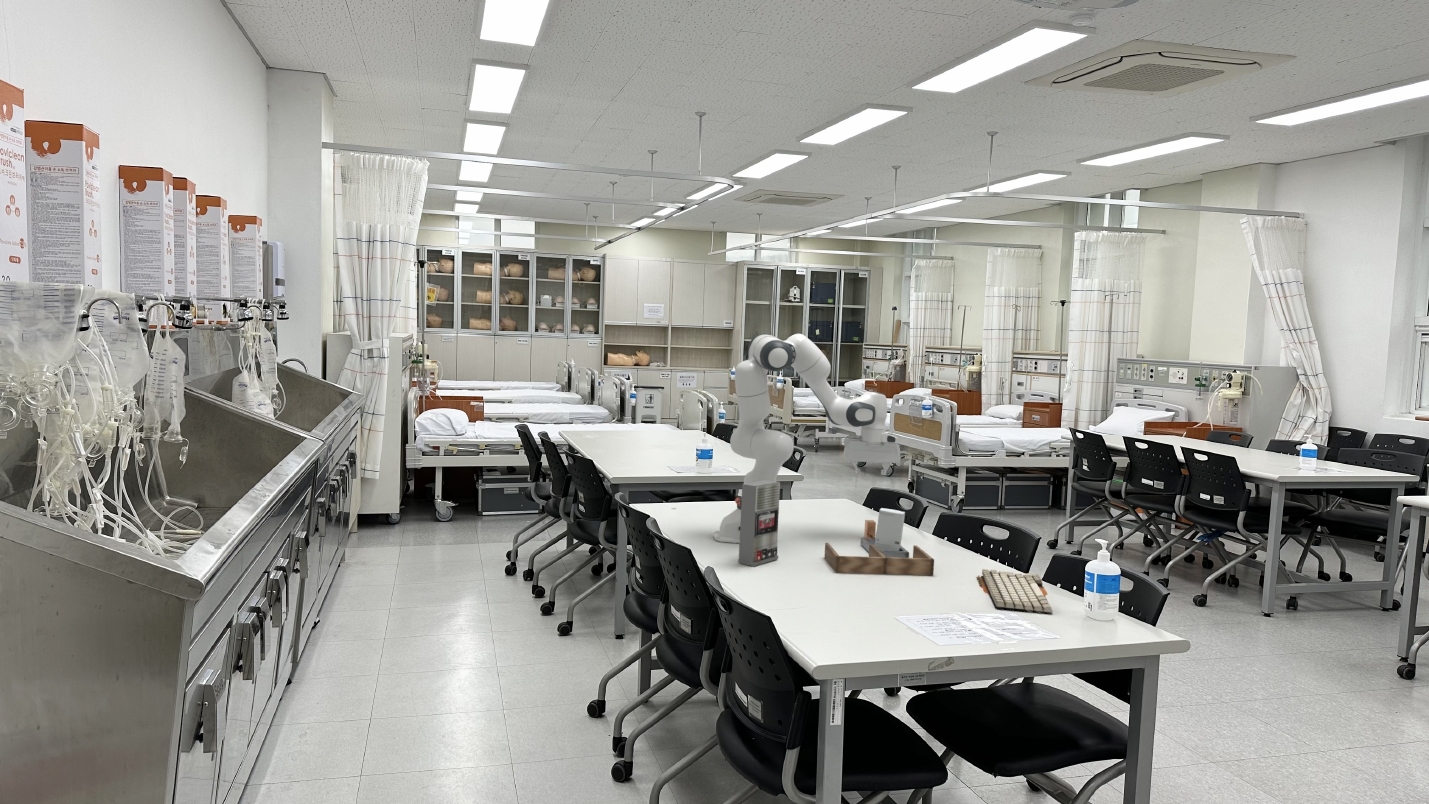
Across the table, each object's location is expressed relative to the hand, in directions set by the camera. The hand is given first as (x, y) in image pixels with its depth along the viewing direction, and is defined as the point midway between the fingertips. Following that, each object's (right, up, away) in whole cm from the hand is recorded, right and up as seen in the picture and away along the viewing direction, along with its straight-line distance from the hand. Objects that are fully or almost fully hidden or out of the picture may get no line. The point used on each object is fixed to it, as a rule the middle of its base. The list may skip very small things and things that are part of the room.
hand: (870, 474), depth 323 cm
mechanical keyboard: (+30, -30, -66) cm, 78 cm away
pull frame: (+1, -24, -13) cm, 27 cm away
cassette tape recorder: (-42, -24, -41) cm, 64 cm away
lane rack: (-5, -26, -40) cm, 48 cm away
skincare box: (+2, -25, -23) cm, 34 cm away
